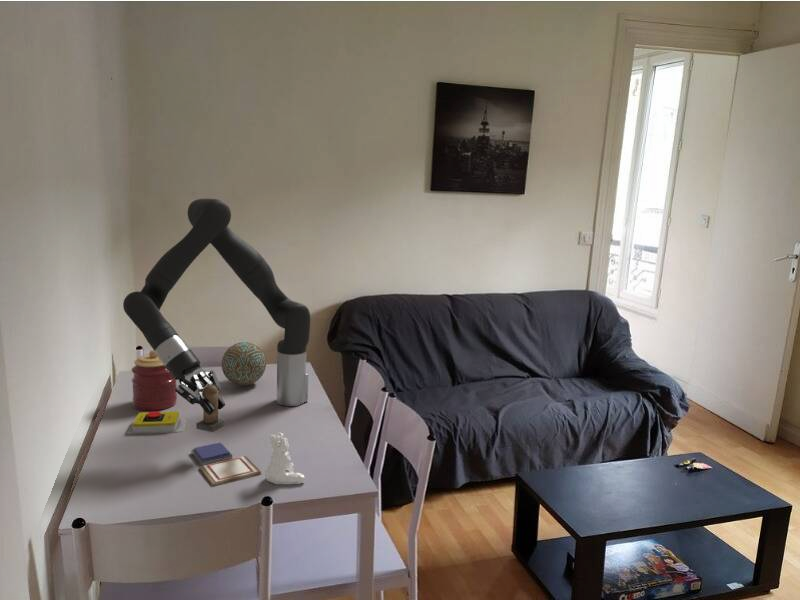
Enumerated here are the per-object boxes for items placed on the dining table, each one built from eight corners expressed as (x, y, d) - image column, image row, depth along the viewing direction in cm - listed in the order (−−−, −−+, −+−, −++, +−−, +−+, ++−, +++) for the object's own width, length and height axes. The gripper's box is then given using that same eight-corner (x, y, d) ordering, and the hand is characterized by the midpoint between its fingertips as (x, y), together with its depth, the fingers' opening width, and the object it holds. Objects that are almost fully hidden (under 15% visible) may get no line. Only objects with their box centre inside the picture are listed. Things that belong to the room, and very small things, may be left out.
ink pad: (221, 446, 164) (221, 441, 163) (232, 458, 157) (232, 452, 157) (191, 453, 159) (191, 447, 159) (201, 465, 153) (201, 459, 152)
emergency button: (133, 408, 177) (187, 406, 180) (133, 422, 178) (187, 420, 181) (125, 420, 168) (183, 418, 171) (126, 435, 169) (183, 433, 172)
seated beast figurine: (307, 484, 146) (308, 437, 144) (273, 492, 142) (273, 444, 139) (291, 467, 154) (292, 423, 152) (258, 475, 149) (259, 429, 147)
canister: (150, 415, 182) (148, 358, 179) (123, 405, 189) (121, 350, 186) (186, 402, 193) (185, 349, 190) (159, 393, 200) (158, 342, 197)
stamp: (208, 422, 160) (208, 380, 157) (224, 425, 158) (224, 383, 156) (196, 428, 155) (196, 386, 153) (212, 432, 153) (212, 389, 151)
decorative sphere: (266, 390, 208) (266, 348, 205) (220, 392, 204) (220, 349, 201) (265, 376, 222) (265, 337, 219) (222, 378, 218) (222, 337, 216)
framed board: (245, 458, 158) (245, 454, 158) (261, 474, 150) (261, 470, 150) (199, 468, 151) (199, 465, 151) (212, 486, 143) (212, 482, 143)
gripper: (166, 355, 149) (209, 411, 147) (203, 342, 162) (242, 393, 160) (149, 373, 151) (191, 427, 150) (187, 358, 164) (225, 409, 163)
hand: (217, 409), depth 155 cm, fingers closed on stamp, 3 cm apart
